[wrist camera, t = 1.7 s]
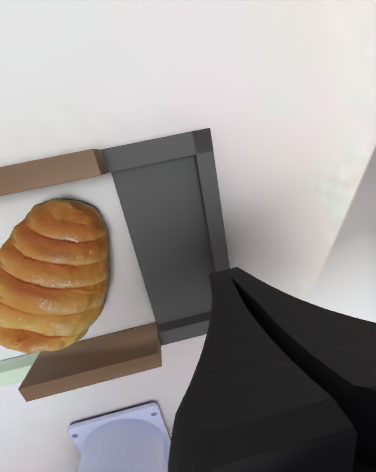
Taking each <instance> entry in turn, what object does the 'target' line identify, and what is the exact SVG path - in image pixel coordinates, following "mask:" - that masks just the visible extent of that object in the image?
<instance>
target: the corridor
mask: <svg viewBox="0 0 376 472" xmlns="http://www.w3.org/2000/svg"><path fill="white" fill-rule="evenodd" d="M106 173H108V170H107V167H106V164H105V161H104V157H103V154H102V151H101V150H99V149H90V150H85V151H80V152H74V153H69V154H64V155H59V156H54V157H49V158H44V159H39V160H34V161H29V162H24V163H19V164H14V165H9V166H4V167H0V196H3V195H8V194H12V193H17V192H22V191H27V190H32V189H37V188H42V187H46V186H51V185H56V184H61V183H66V182H71V181H76V180H80V179H85V178H90V177H95V176H100V175H103V174H106ZM161 366H162V360H161V344H160V341H159V337H158V334H157V323H152V324H148V325H144V326H140V327H136V328H132V329H128V330H124V331H120V332H116V333H112V334H108V335H104V336H100V337H96V338H92V339H88V340H84V341H79V342H75V343H73V344H71V345H69V346H68V347H65V348H62V349H59V350H56V351H41V352H40V353H39V355H38V356H37V358H36V360H35V361H34V363H33V365H32V367H31V368H30V370H29V372H28V373H27V375H26V377H25V379H24V380H23V382H22V384H21V385H20V387H19V389H18V390H19V391H20V393H21V394H22V396H23V397H24V399H25V400H26V402H28V401H31V400H35V399H39V398H43V397H47V396H50V395H54V394H58V393H62V392H66V391H70V390H73V389H77V388H81V387H85V386H89V385H92V384H96V383H100V382H104V381H108V380H112V379H115V378H119V377H123V376H127V375H131V374H134V373H138V372H142V371H146V370H150V369H153V368H157V367H161Z"/></svg>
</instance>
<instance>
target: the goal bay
mask: <svg viewBox="0 0 376 472" xmlns="http://www.w3.org/2000/svg"><path fill="white" fill-rule="evenodd" d="M39 353H40V352H37V353H31V354H27V355H23V356H19V357H15V358H11V359H7V360H3V361H0V387H1V386H5V385H9V384H13V383H17V382H21V381H23V380H24V379H25V377H26V375H27V373H28V372H29V370H30V368H31V367H32V365H33V363H34V361H35V360H36V358H37V356H38V355H39Z"/></svg>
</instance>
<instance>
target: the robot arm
mask: <svg viewBox="0 0 376 472" xmlns="http://www.w3.org/2000/svg"><path fill="white" fill-rule="evenodd" d="M209 281H210V286H211V292H212V306H211V316H210V322H209V327H208V332H207V336H206V340H205V343H204V347H203V350H202V353H201V356H200V359H199V362H198V365H197V367H196V370H195V372H194V375H193V378H192V380H191V382H190V385H189V387H188V389H187V391H186V393H185V395H184V397H183V400H182V402H181V404H180V406H179V408H178V410H177V412H176V415H175V420H174V426H173V431H172V437H171V440H170V437H169V435H168V432H167V429H166V426H165V423H164V421H163V418H162V415H161V412H160V409H159V407H158V404H156V403H149V404H145V405H141V406H138V407H134V408H130V409H127V410H123V411H119V412H115V413H112V414H108V415H104V416H101V417H97V418H93V419H90V420H86V421H82V422H79V423H75V424H72V425H70V426H69V427H68V430H67V434H68V435H69V437H70V438H71V440H72V442H73V443H74V445H75V447H76V448H77V450H78V452H79V453H80V455H81V459H80V463H79V467H78V471H77V472H376V323H374V322H370V321H366V320H362V319H358V318H354V317H351V316H347V315H344V314H341V313H337V312H334V311H330V310H328V309H324V308H321V307H319V306H316V305H313V304H311V303H308V302H305V301H303V300H300V299H298V298H295V297H293V296H291V295H289V294H286V293H284V292H282V291H280V290H278V289H276V288H274V287H272V286H270V285H268V284H266V283H264V282H262V281H261V280H259V279H257V278H255V277H253V276H252V275H250V274H248V273H247V272H245V271H243V270H241V269H240V268H238V267H235V268H231V269H227V270H223V271H219V272H214V273H211V274H210V275H209Z"/></svg>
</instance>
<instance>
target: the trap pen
mask: <svg viewBox="0 0 376 472" xmlns="http://www.w3.org/2000/svg"><path fill="white" fill-rule="evenodd" d="M101 151H102V154H103V157H104V161H105V164H106V167H107V170H108V172H111V173H112V176H113V179H114V183H115V186H116V189H117V193H118V196H119V199H120V203H121V206H122V209H123V213H124V216H125V219H126V223H127V226H128V229H129V233H130V236H131V239H132V243H133V246H134V249H135V253H136V256H137V259H138V263H139V266H140V269H141V273H142V276H143V279H144V283H145V286H146V289H147V293H148V296H149V299H150V303H151V306H152V309H153V313H154V316H155V319H156V323H157V334H158V337H159V341H160V344H161V345H165V344H169V343H173V342H177V341H181V340H185V339H189V338H193V337H196V336H200V335H204V334H207V332H208V327H209V322H210V316H211V306H212V292H211V286H210V281H209V275H210V274H211V273H214V272H219V271H223V270H227V269H230V267H229V260H228V253H227V246H226V239H225V231H224V224H223V217H222V210H221V203H220V196H219V189H218V182H217V175H216V167H215V160H214V153H213V146H212V139H211V132H210V128H207V129H202V130H197V131H192V132H187V133H182V134H177V135H172V136H167V137H162V138H157V139H152V140H147V141H142V142H137V143H132V144H127V145H122V146H117V147H112V148H107V149H102V150H101Z"/></svg>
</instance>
